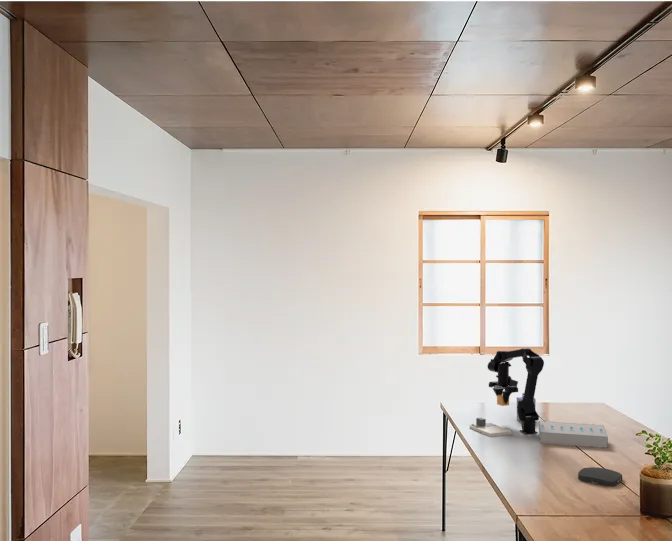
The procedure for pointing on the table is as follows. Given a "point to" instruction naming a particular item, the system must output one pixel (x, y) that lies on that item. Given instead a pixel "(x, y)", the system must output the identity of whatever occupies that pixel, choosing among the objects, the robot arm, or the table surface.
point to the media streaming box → (600, 476)
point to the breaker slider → (480, 421)
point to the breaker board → (491, 429)
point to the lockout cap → (501, 400)
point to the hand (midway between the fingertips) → (503, 402)
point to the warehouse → (572, 434)
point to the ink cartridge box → (520, 400)
